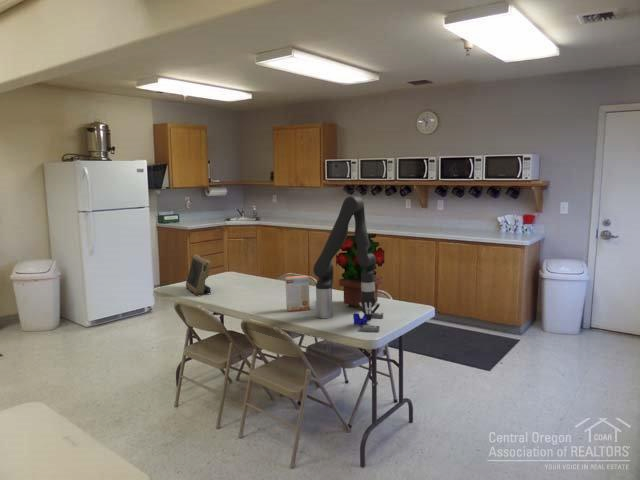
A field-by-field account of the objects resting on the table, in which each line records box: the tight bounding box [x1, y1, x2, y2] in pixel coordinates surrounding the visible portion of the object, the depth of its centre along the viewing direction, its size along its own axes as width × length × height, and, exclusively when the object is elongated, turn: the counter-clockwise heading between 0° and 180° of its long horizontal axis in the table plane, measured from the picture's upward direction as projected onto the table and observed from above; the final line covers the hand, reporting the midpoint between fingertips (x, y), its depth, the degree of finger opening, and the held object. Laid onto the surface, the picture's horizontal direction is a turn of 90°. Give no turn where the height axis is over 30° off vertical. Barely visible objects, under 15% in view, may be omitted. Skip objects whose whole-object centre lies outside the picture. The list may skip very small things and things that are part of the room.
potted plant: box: [335, 233, 385, 309], centre depth 300 cm, size 22×22×45 cm
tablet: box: [185, 253, 212, 296], centre depth 348 cm, size 33×14×25 cm, turn 33°
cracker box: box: [284, 275, 311, 313], centre depth 295 cm, size 14×6×21 cm, turn 100°
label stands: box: [359, 312, 384, 333], centre depth 267 cm, size 10×28×2 cm, turn 168°
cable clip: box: [352, 308, 369, 326], centre depth 269 cm, size 12×4×6 cm, turn 139°
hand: (369, 320), depth 267 cm, fingers closed
